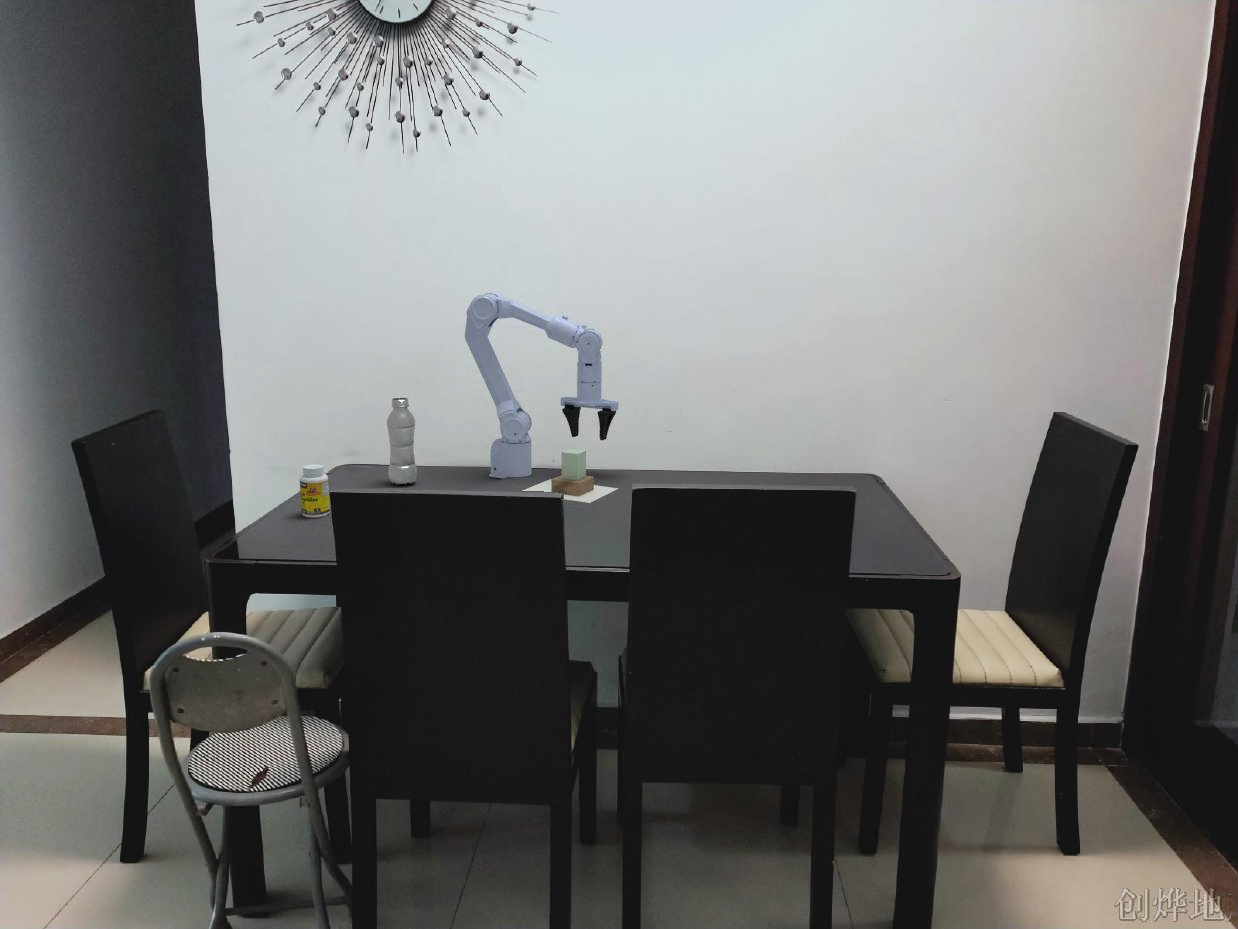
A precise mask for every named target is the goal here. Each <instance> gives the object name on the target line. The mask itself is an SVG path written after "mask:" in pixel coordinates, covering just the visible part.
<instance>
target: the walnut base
mask: <svg viewBox="0 0 1238 929" xmlns="http://www.w3.org/2000/svg"><path fill="white" fill-rule="evenodd" d="M550 479H551V492H558V493H563V494H565V495H572V496H581V495H583V494H585V493H587V492H590V491H592V490H594V485H595V476H591V475H586V477H584V478H582V479H580V480H570V479H563V478H562V474H561V475H559V476H556V477H554V478H550Z"/></svg>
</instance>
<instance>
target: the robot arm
mask: <svg viewBox="0 0 1238 929" xmlns="http://www.w3.org/2000/svg"><path fill="white" fill-rule="evenodd" d="M511 318H514V319H516V320H518V321H521V322H523V323H526V324H528V325H530V326H534V327H536V328H539V329H541V330H543V331H545V334H546V336H547V338H548V339H550V340H552V341H555V342H557V343H559V344H561V345H564V346H567V347H568V348H571V349H576V351H577V353H578V354H577V355H578V360H577V363H576V368H577V371H576V372H577V373H576V377H577V378H576V386H577V387H576V397H575V396H574V397H573V396H572V397H571V396H563V397H560V406H561V407H563V408H562V409H561V411H562V414H563V415H564V417H565V419H566V421H567V424H568V427H569V430H570V434H571V437H572V438H576V437H579V433H580V432H579V431H580V427H579V426H580V424H579V422H580V414H581V410H582V408H586V409H595V410H596V409H597V410H599V411H597V417H598V423H599V440H600V441H605V440H607V437H608V433H609V430H610V426H611V423H612V422H613V419H614V417H615V416H616V414H617V411H619V401H614V400H608V399H604V398H603V399H602V376H603V375H602V374H603V373H602V353H601V352H602V351H601V349H602V345H603V338H602V335H601V333H599V332H598V331H597V330H596V329H595V328H592V327H591V328H590V327H589V328H587V327H588V325H586V324H585V323H583V324H579V323H577V322H574V321H572V320H570V319H568V318H569V316H568V315H565V314H562V316H561V315H559V314H557V315H554V316H552V317H549V316H547V315H546V314H543V313H541V312H539V311H537V310H535V309H533V308H531V307H529V306H527V305H524V304H523V303H520V302H519V301H516V300H514V299H511V298H508V297H505V296H499V295H498V294H496V293H493V292H487V293H483V294H479V295H476V296H475V297H473V298H472V300H471V302H470V304H469V305H468V308H467V309H466V323H465V331H464V339H465V341H466V342H465V343H466V344H467V346H468V348H469V350H470V352H471V355H472V357H473V359H474V361H475V363H476V366H477V368H478V370H479V372H480V374H481V377H482V379H483V381H484V383H485V385H486V388H487V389H488V392H489V394H490V396H491V399H492V401H493V404H494V405H495V407H496V415H497V418H498V422H499V425H500V426H499V431H500V435H501V438H496V439H494V441H493V442H492V443H491V447H490V474H489V475H488V476H489V478H496V479H497V478H498V479H506V478H508V477H509V478H511V477H512V478H523V477H524V478H525V477H528V476H530V475H532V471H533V469H532V465H533V464H532V463H533V462H532V437H531V436H530V434H529V433H528V432H529V431H530V430H531V428H532V418H531V415H529V413H528V412H527V411H525V410H524V409H523V406H522V405H521V402H519V400H517V398H516V397H515V395H514V392H513V390H512V387H511V385H510V384H509V381H508V379H507V377H506V375H505V372H504V370H503V368H502V365H501V364H500V361H499V359H498V356H497V354H496V352H495V351H494V348H493V346H492V343H491V341H490V340H489V335H490V332H491V330H492V328H493V325H494V324H495V322H497V320H498V319H499V320H503V319H511Z"/></svg>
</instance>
